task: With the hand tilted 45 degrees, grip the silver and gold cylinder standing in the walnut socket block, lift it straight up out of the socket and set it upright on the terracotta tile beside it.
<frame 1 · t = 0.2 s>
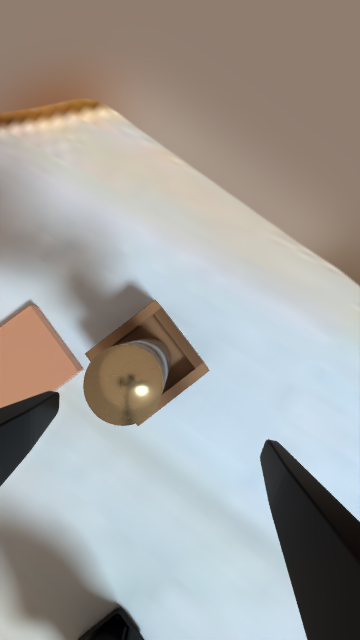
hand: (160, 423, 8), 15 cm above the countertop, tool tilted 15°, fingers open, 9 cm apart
socket block: (153, 355, 23), on the countertop
silver and gold cylinder: (149, 359, 20), point 3 cm above the countertop, touching socket block
terracotta tile: (28, 361, 23), on the countertop
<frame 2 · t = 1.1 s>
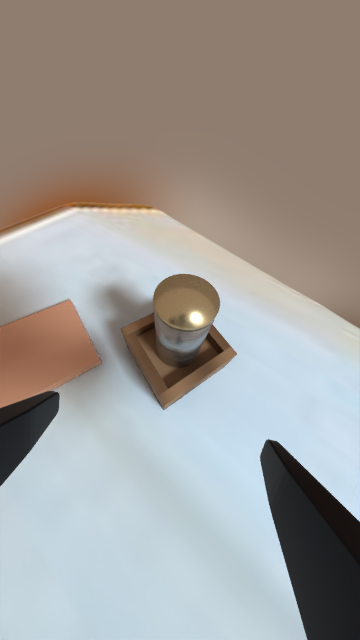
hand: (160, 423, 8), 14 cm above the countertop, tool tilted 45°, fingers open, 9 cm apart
socket block: (175, 355, 24), on the countertop
silver and gold cylinder: (177, 346, 21), point 3 cm above the countertop, touching socket block
terracotta tile: (45, 350, 22), on the countertop
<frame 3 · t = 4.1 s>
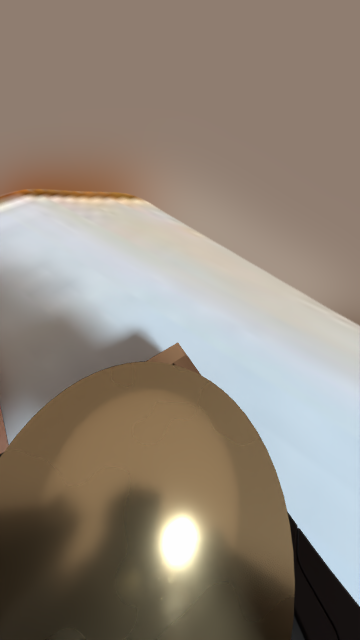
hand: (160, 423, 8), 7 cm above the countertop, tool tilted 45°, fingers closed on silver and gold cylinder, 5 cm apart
socket block: (155, 449, 13), on the countertop
silver and gold cylinder: (154, 453, 10), point 3 cm above the countertop, touching gripper, socket block
when the fingers open (7 cm above the countertop, at t = 9.2 s): silver and gold cylinder drops 2 cm, resting on terracotta tile.
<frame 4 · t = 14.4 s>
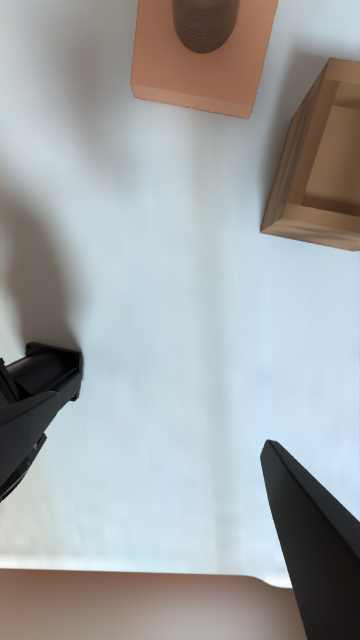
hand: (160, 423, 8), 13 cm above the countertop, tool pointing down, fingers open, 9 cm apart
socket block: (324, 189, 17), on the countertop
silver and gold cylinder: (205, 10, 13), point 1 cm above the countertop, touching terracotta tile
terracotta tile: (204, 31, 15), on the countertop
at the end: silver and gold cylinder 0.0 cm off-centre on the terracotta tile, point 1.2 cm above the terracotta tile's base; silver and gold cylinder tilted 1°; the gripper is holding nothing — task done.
